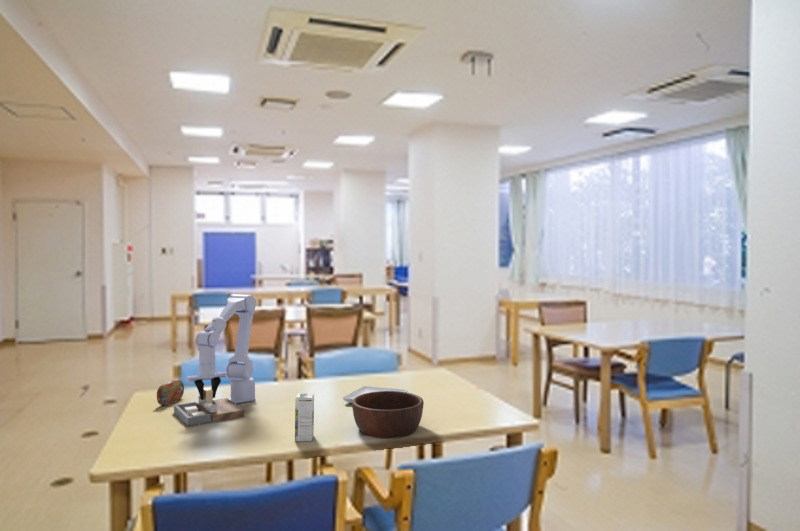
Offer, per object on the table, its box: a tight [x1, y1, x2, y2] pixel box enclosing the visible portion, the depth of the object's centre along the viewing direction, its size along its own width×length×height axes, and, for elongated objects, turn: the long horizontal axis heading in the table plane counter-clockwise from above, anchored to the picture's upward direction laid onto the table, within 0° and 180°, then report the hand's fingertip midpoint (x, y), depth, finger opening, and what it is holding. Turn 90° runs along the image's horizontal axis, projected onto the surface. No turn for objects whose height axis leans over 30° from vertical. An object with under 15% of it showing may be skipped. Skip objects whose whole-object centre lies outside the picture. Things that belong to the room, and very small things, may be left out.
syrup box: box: [294, 392, 315, 442], centre depth 177 cm, size 6×6×14 cm
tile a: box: [184, 406, 198, 415], centre depth 203 cm, size 4×4×2 cm
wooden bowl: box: [351, 391, 425, 439], centre depth 187 cm, size 25×25×10 cm
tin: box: [156, 379, 185, 406], centre depth 219 cm, size 15×3×8 cm, turn 168°
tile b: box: [191, 411, 205, 417], centre depth 196 cm, size 4×4×2 cm
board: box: [196, 397, 245, 423], centre depth 205 cm, size 12×20×2 cm, turn 36°
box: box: [173, 401, 212, 427], centre depth 199 cm, size 8×20×3 cm, turn 36°
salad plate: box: [342, 385, 409, 404], centre depth 222 cm, size 21×21×3 cm
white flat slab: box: [198, 387, 217, 413], centre depth 202 cm, size 2×16×7 cm, turn 36°
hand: (207, 398), depth 202 cm, fingers open, 4 cm apart
